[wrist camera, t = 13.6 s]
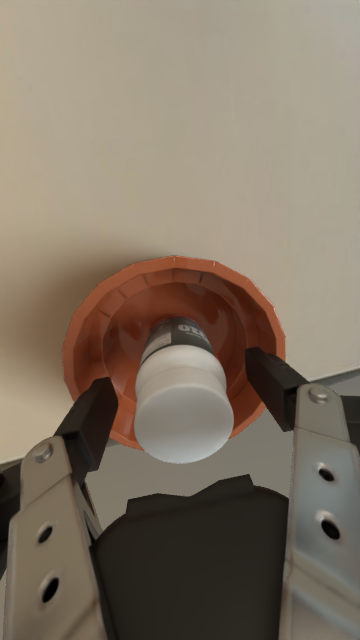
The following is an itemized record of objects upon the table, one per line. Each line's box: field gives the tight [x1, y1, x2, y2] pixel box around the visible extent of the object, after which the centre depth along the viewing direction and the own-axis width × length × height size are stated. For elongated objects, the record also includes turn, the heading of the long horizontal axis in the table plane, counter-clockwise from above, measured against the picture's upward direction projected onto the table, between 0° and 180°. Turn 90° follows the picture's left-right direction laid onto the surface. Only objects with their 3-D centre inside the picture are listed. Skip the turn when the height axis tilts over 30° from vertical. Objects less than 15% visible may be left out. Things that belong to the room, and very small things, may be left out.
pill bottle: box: [134, 315, 234, 463], centre depth 11 cm, size 5×5×8 cm
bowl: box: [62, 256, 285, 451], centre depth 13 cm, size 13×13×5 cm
